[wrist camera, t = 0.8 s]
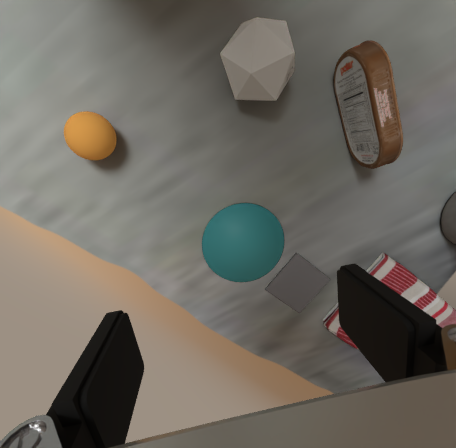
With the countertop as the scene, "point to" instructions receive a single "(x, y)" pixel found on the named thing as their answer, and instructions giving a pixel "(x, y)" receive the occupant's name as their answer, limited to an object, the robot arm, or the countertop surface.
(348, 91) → the tin
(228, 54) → the die
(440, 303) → the dish towel
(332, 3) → the countertop surface
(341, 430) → the robot arm
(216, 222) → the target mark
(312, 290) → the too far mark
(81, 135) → the ball
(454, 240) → the canister
